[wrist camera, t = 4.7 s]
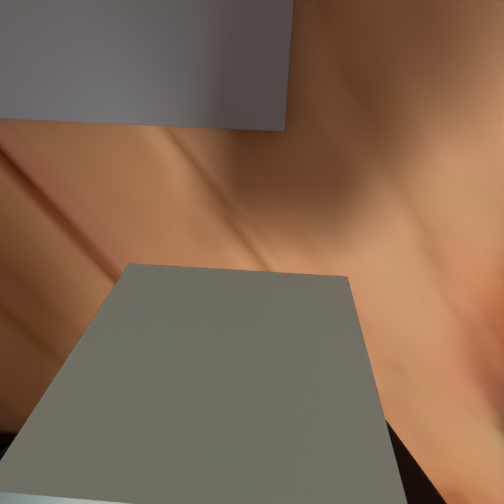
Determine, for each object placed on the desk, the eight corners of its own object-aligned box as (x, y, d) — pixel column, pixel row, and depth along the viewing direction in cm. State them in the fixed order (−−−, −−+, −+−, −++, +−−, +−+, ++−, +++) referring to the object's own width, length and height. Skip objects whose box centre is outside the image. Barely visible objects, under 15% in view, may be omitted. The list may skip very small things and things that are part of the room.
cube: (152, 405, 11) (72, 636, 7) (129, 263, 9) (-20, 490, 4) (320, 418, 11) (345, 665, 7) (347, 276, 9) (413, 528, 4)
